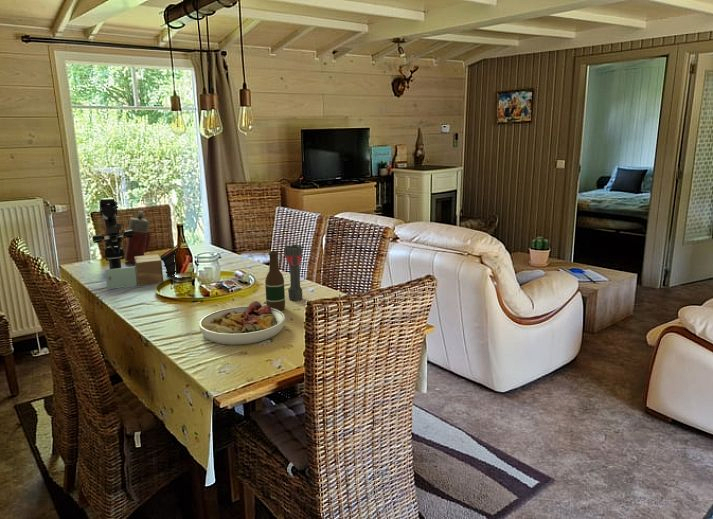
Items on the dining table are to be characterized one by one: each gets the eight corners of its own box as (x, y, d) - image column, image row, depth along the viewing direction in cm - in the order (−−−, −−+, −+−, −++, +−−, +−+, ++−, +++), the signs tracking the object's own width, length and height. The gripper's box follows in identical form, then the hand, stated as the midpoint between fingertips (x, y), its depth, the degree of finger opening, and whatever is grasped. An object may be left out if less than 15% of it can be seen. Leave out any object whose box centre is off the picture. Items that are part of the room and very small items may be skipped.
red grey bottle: (147, 263, 301) (154, 213, 298) (125, 261, 295) (133, 210, 292) (145, 260, 309) (152, 211, 305) (124, 257, 303) (131, 208, 300)
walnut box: (136, 278, 268) (134, 256, 265) (159, 275, 272) (157, 254, 270) (139, 285, 255) (136, 262, 252) (163, 282, 259) (161, 260, 257)
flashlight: (293, 294, 237) (291, 243, 232) (307, 297, 234) (305, 245, 228) (282, 299, 231) (279, 246, 226) (297, 301, 227) (294, 248, 222)
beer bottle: (289, 307, 220) (286, 250, 214) (280, 313, 213) (277, 254, 207) (272, 305, 222) (269, 248, 217) (262, 311, 215) (259, 253, 210)
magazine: (195, 269, 277) (181, 245, 270) (174, 284, 271) (158, 260, 264) (192, 267, 280) (178, 244, 273) (171, 282, 274) (155, 258, 267)
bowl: (269, 350, 177) (268, 328, 175) (184, 345, 182) (182, 323, 181) (295, 320, 206) (294, 300, 204) (221, 316, 211) (220, 297, 209)
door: (107, 290, 247) (105, 270, 245) (107, 289, 249) (105, 269, 247) (138, 285, 253) (136, 266, 251) (138, 284, 255) (136, 265, 253)
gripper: (88, 221, 256) (94, 253, 255) (130, 215, 263) (136, 246, 262) (90, 227, 266) (96, 257, 265) (131, 221, 274) (137, 250, 272)
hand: (117, 253), depth 266 cm, fingers closed
